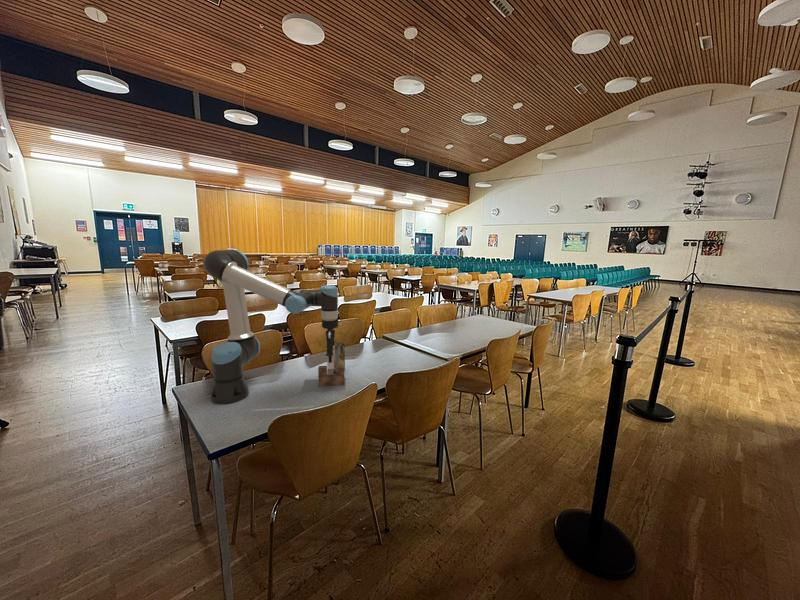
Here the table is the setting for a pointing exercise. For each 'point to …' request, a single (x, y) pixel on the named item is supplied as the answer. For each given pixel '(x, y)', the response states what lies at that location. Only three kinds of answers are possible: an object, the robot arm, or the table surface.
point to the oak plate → (333, 358)
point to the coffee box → (338, 356)
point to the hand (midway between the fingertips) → (331, 364)
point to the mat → (314, 386)
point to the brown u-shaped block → (331, 376)
